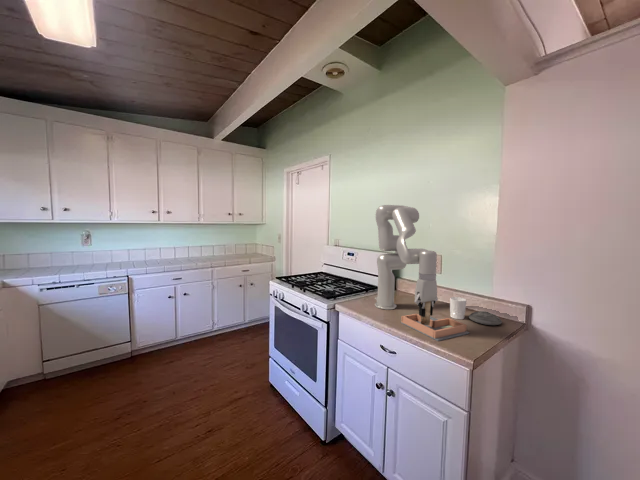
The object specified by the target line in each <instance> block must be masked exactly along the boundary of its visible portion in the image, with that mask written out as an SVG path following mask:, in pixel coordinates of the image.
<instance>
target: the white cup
mask: <svg viewBox="0 0 640 480" xmlns="http://www.w3.org/2000/svg"><path fill="white" fill-rule="evenodd" d="M466 309H467V299H466V298H464V297H459V296H452V297H450V298H449V316H450V317H451V319H454V320H463V319H465V315H466ZM450 317H449V318H450Z"/></svg>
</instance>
